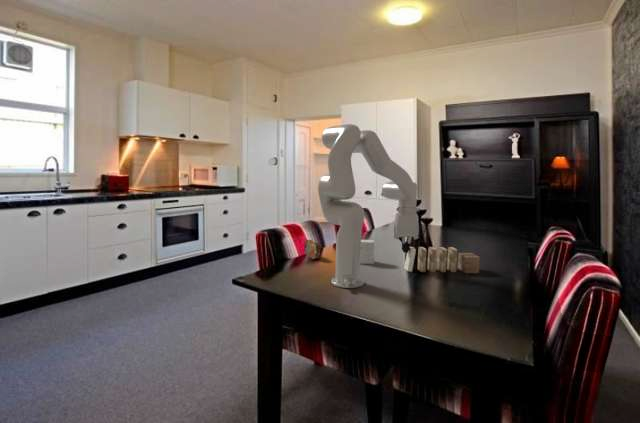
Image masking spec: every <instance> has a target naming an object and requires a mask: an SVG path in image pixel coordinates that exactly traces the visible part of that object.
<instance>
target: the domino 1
mask: <svg viewBox="0 0 640 423" xmlns="http://www.w3.org/2000/svg"><path fill="white" fill-rule="evenodd" d="M416 251H417V249H416V248H415V247H413V246H410V248H409V250H408V253H407V252H406V256H405V262H404V266H403V267H404V268H403V269H405V271H407V272H410V273H412V272H413V268H414V262H415V258H416Z"/></svg>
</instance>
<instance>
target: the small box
mask: <svg viewBox="0 0 640 423" xmlns="http://www.w3.org/2000/svg"><path fill="white" fill-rule="evenodd" d="M360 265H375V240H374V239H361V259H360Z"/></svg>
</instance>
